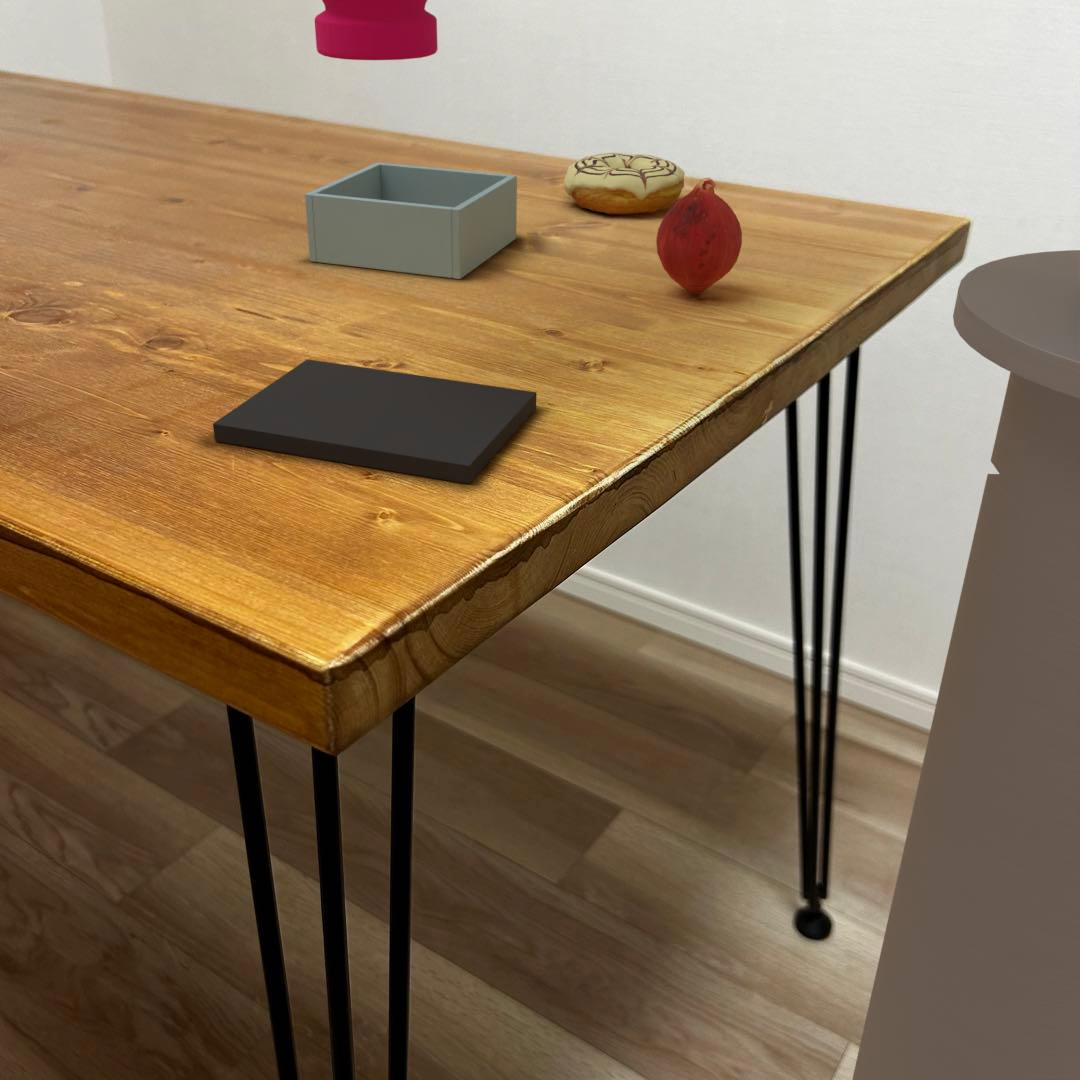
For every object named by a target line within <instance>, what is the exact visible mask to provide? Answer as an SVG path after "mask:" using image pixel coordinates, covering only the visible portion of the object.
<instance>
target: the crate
mask: <svg viewBox="0 0 1080 1080" xmlns="http://www.w3.org/2000/svg"><path fill="white" fill-rule="evenodd" d="M304 201H305V214H306V227H307V228H306V229H307V238H308V242H307V243H308V254H309V261H310V262H312V263H313V262H314V263H322V264H331V265H338V266H346V267H355V268H364V269H373V270H381V271H388V272H397V273H405V274H414V275H423V276H431V277H438V278H445V279H446V278H447V279H454V280H455V279H456V280H462V279H463V278H464V277H466V276H467V275H468V274H469V273H471V272H473V271H474V270H475V269H477V268H478V267H479V266H481V265H482V264H483V263H484V262H486V261H487V260H489V259H490V258H491V257H493V256H494V255H495V254H497V253H498V252H500V251H502V249H504V248H505V247H507V246H508V245H510V244H511V243H512V242H513V241H515V240H516V239H517V213H518V212H517V211H518V210H517V209H518V207H517V206H518V204H517V203H518V175H516V174H504V173H495V172H482V171H473V170H461V169H451V168H441V167H429V166H419V165H409V164H408V165H407V164H397V163H387V162H374V163H373V164H370V165H367V166H365V167H363V168H361V169H359V170H357V171H354V172H351V173H350V174H347V175H346V176H343V177H341V178H338V179H336V180H333V181H332V182H329V183H327V184H325V185H322V186H320V187H318V188H316V189H313V190H311V191H309V192H307V193H305V194H304Z"/></svg>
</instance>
